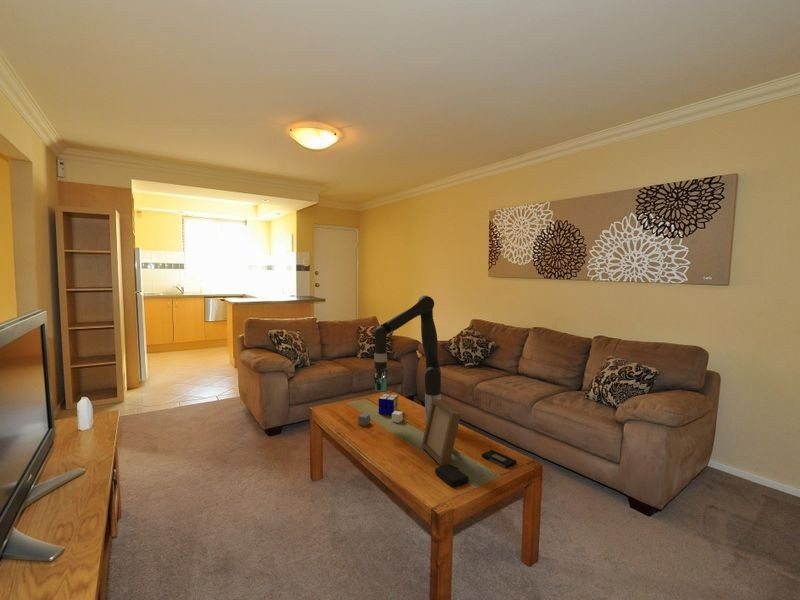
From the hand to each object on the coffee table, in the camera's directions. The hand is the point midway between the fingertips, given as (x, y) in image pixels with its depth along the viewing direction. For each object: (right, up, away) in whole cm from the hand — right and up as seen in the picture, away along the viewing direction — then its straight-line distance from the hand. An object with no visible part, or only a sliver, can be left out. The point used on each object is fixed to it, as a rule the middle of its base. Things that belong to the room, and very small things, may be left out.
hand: (380, 388), depth 233 cm
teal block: (0, -1, 0) cm, 1 cm away
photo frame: (+33, -24, -40) cm, 57 cm away
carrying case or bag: (+34, -26, -61) cm, 75 cm away
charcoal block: (-10, -21, -1) cm, 23 cm away
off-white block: (+10, -20, +4) cm, 23 cm away
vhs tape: (+58, -25, -45) cm, 78 cm away
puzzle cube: (+4, -19, +18) cm, 27 cm away
